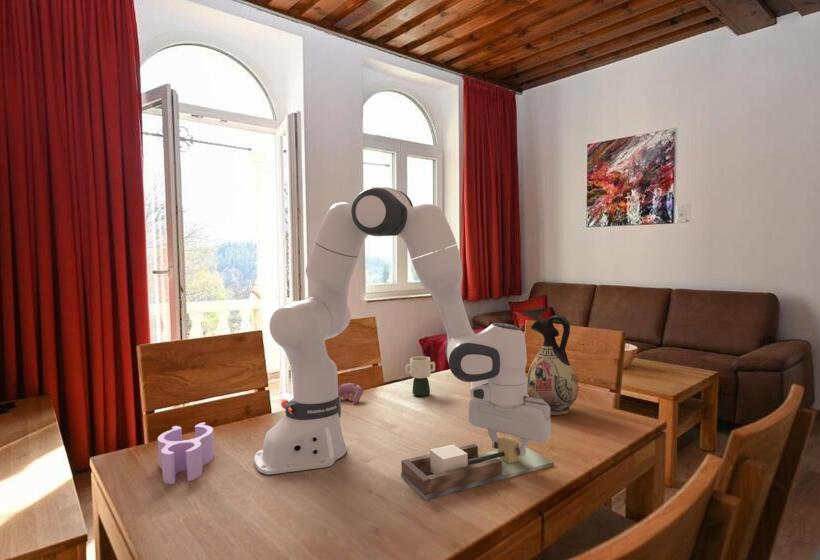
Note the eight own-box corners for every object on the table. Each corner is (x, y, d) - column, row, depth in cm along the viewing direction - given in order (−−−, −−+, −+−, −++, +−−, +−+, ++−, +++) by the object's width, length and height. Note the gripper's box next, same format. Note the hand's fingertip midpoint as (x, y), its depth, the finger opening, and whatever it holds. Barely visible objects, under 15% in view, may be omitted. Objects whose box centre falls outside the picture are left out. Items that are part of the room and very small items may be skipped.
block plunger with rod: (443, 482, 103) (443, 459, 103) (430, 471, 108) (429, 449, 108) (522, 462, 112) (521, 440, 111) (506, 453, 117) (505, 432, 117)
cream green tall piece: (432, 390, 176) (431, 355, 175) (439, 395, 169) (438, 358, 169) (403, 394, 173) (402, 357, 172) (409, 399, 166) (408, 361, 165)
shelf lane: (425, 500, 98) (425, 481, 98) (401, 476, 109) (400, 459, 109) (553, 465, 112) (553, 449, 112) (520, 447, 123) (520, 432, 122)
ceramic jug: (516, 412, 150) (514, 315, 148) (542, 400, 161) (540, 309, 159) (568, 424, 138) (567, 318, 136) (592, 411, 149) (591, 313, 147)
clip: (211, 478, 111) (209, 448, 111) (150, 488, 107) (148, 457, 107) (216, 446, 130) (214, 420, 130) (164, 453, 126) (162, 427, 126)
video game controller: (361, 406, 165) (366, 386, 168) (354, 403, 162) (359, 382, 164) (339, 402, 171) (344, 382, 173) (331, 400, 167) (336, 379, 169)
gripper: (556, 397, 108) (557, 458, 109) (478, 383, 122) (480, 437, 123) (543, 404, 104) (544, 468, 104) (464, 389, 117) (465, 445, 118)
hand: (508, 451), depth 114 cm, fingers closed on block plunger with rod, 5 cm apart
